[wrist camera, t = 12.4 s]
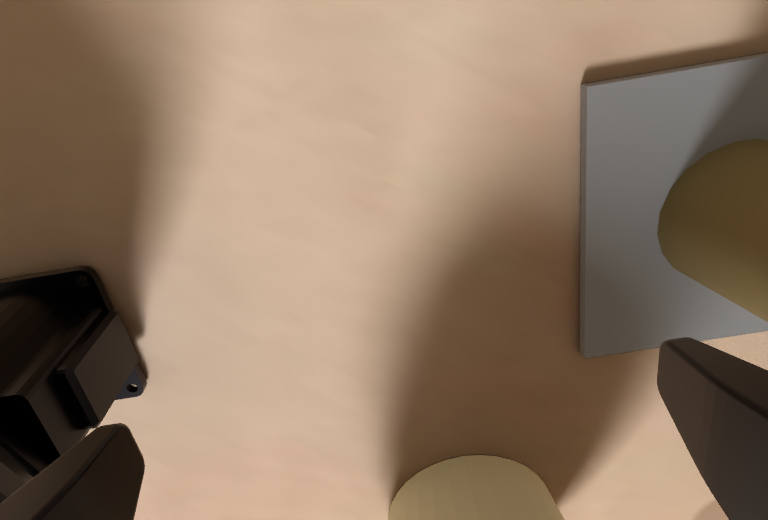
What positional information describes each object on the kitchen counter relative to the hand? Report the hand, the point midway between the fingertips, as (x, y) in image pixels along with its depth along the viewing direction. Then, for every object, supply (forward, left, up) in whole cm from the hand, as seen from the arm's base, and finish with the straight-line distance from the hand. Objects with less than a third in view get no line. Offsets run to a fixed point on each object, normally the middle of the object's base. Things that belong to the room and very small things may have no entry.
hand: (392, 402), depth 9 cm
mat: (+14, -4, -13) cm, 20 cm away
